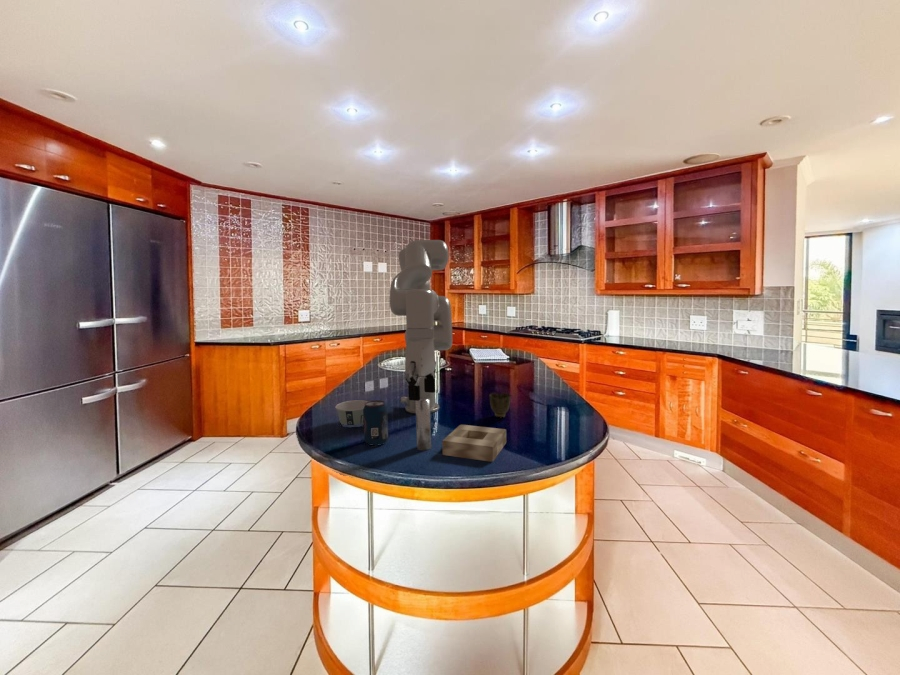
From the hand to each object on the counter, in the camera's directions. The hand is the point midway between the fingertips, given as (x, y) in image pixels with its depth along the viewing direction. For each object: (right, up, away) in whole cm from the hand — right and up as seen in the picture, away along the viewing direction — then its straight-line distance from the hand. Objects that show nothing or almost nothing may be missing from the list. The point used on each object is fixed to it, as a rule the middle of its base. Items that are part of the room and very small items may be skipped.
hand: (422, 396), depth 113 cm
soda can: (-14, -15, +7) cm, 22 cm away
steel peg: (0, -15, +2) cm, 15 cm away
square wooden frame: (+15, -15, +1) cm, 21 cm away
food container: (-25, -13, +25) cm, 38 cm away
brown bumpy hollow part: (+25, -12, +29) cm, 40 cm away
